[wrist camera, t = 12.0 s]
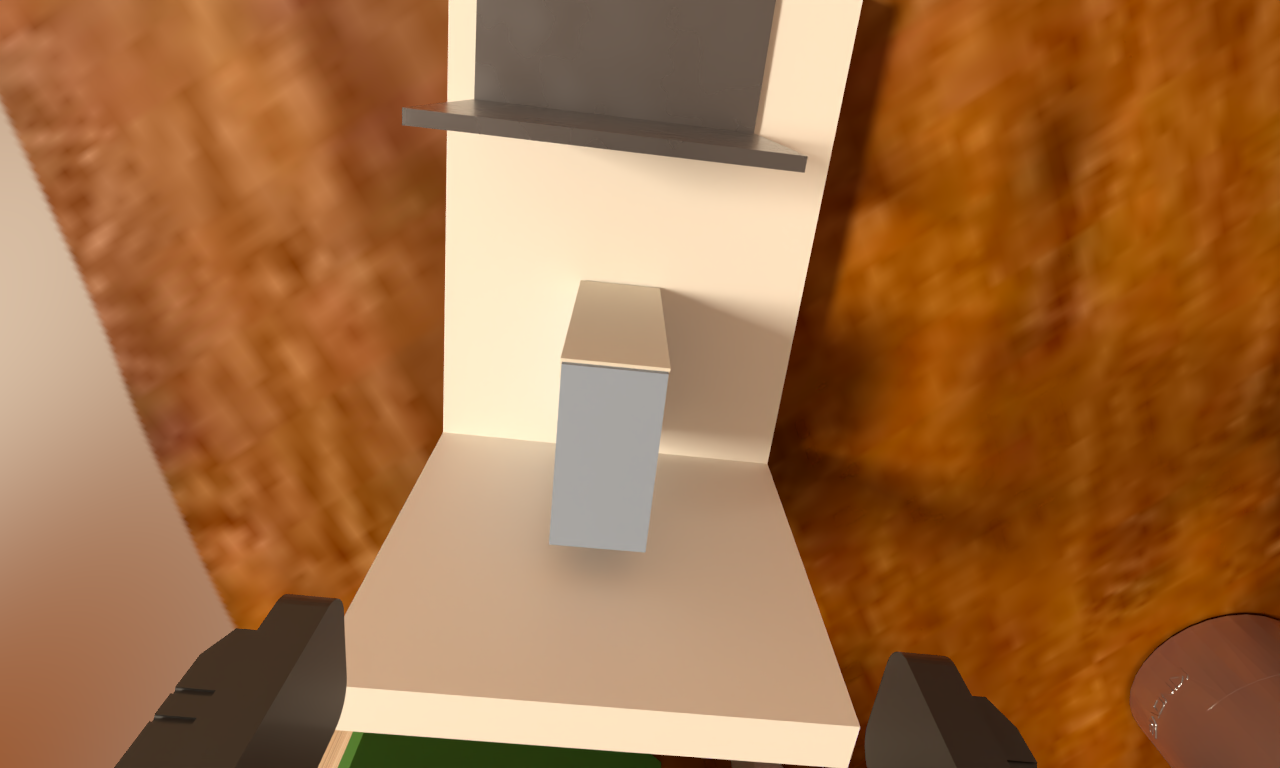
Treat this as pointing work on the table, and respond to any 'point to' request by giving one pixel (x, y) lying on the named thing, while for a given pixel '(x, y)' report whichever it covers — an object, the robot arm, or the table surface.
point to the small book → (609, 417)
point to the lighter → (753, 764)
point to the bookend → (621, 78)
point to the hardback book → (465, 754)
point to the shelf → (686, 467)
